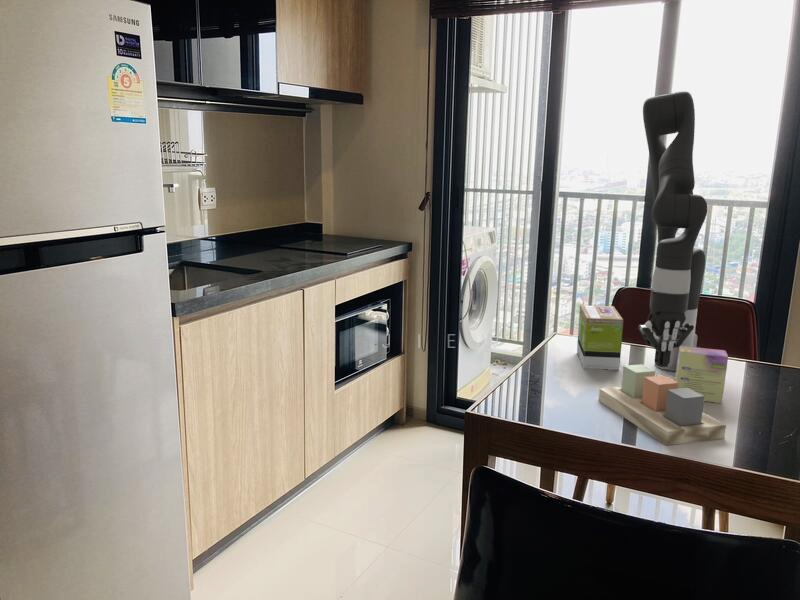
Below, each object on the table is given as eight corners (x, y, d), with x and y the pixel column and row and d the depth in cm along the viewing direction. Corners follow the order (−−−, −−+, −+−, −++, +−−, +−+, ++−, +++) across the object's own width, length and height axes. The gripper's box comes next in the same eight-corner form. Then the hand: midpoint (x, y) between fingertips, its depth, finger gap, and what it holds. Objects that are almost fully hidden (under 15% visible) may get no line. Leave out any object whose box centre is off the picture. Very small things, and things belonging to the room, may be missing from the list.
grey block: (684, 416, 141) (687, 387, 139) (700, 425, 136) (704, 396, 135) (664, 418, 140) (667, 389, 138) (680, 427, 135) (683, 398, 133)
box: (719, 395, 160) (725, 349, 157) (722, 404, 155) (728, 356, 152) (673, 390, 163) (678, 344, 161) (674, 398, 158) (680, 351, 156)
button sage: (639, 390, 156) (641, 364, 154) (652, 397, 151) (655, 371, 150) (620, 391, 155) (623, 365, 153) (633, 399, 150) (636, 372, 148)
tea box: (575, 352, 193) (579, 303, 190) (610, 354, 192) (615, 305, 188) (582, 369, 178) (586, 316, 175) (620, 371, 177) (625, 318, 174)
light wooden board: (649, 395, 160) (650, 383, 159) (724, 438, 136) (726, 425, 135) (598, 400, 156) (599, 388, 155) (666, 445, 132) (668, 431, 132)
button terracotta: (660, 402, 148) (663, 375, 147) (675, 410, 144) (678, 382, 142) (641, 404, 147) (644, 377, 146) (655, 413, 142) (658, 384, 141)
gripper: (684, 284, 145) (676, 359, 148) (632, 286, 141) (625, 362, 145) (708, 291, 138) (698, 369, 141) (654, 293, 134) (645, 373, 138)
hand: (661, 366), depth 143 cm, fingers closed
